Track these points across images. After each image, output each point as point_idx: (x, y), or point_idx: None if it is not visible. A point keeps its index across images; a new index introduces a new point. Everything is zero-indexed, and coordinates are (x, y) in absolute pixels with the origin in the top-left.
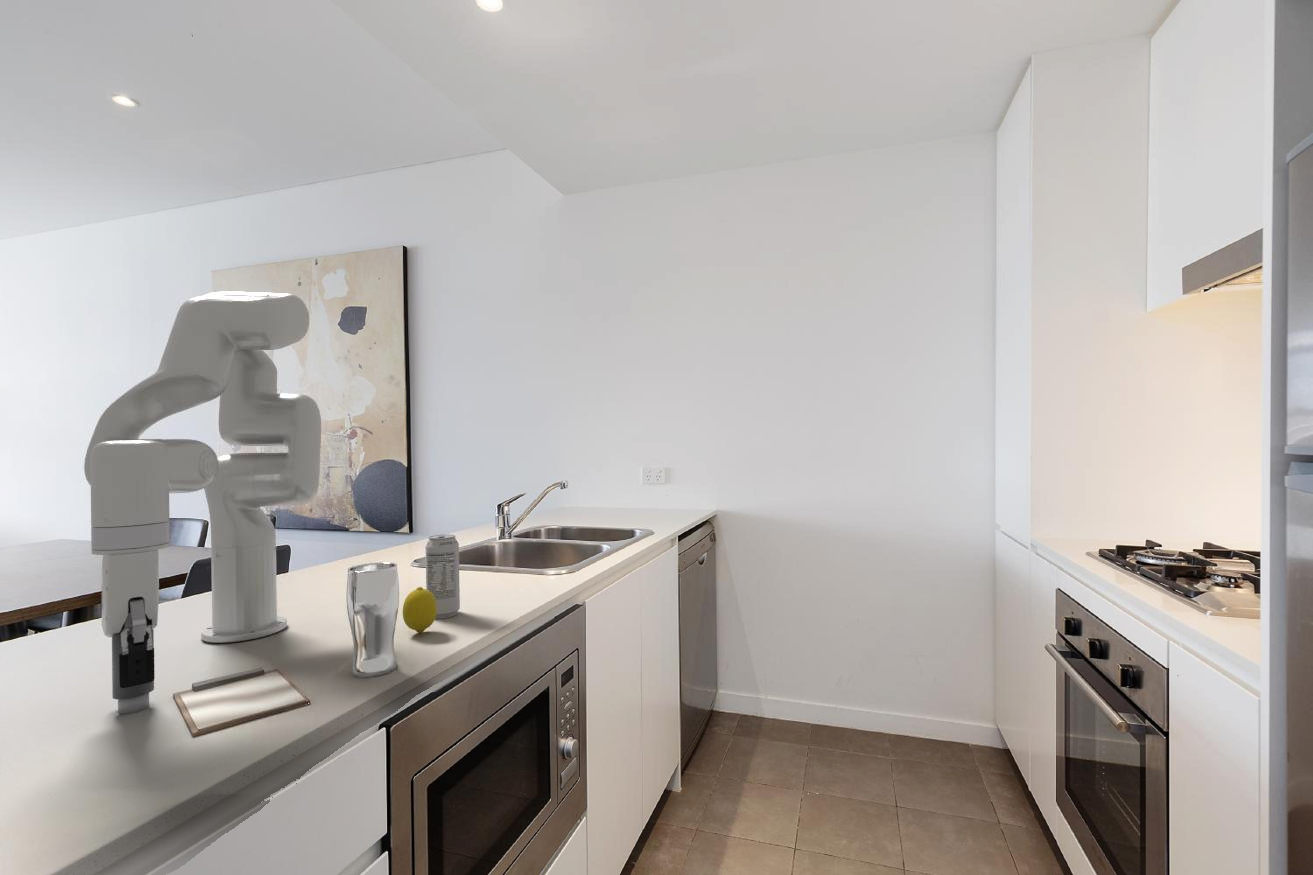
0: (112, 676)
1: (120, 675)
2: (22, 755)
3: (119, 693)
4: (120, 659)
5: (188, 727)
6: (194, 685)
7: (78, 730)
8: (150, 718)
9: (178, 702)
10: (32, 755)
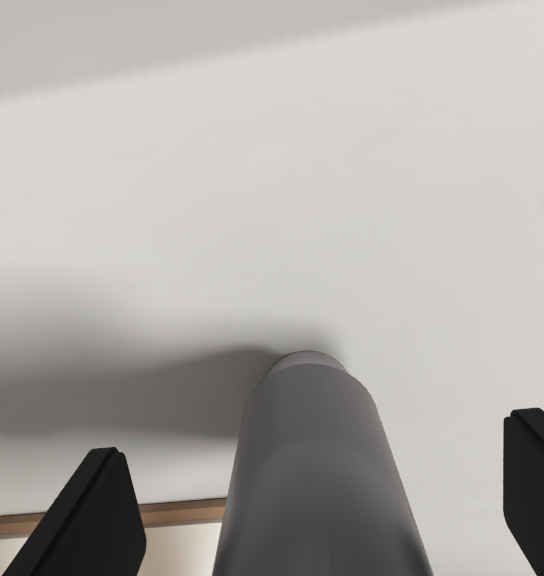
0: (297, 415)
1: (65, 490)
2: (49, 121)
3: (253, 399)
4: (8, 571)
5: (9, 516)
6: None
7: (194, 254)
8: (165, 434)
9: None
10: (30, 152)
